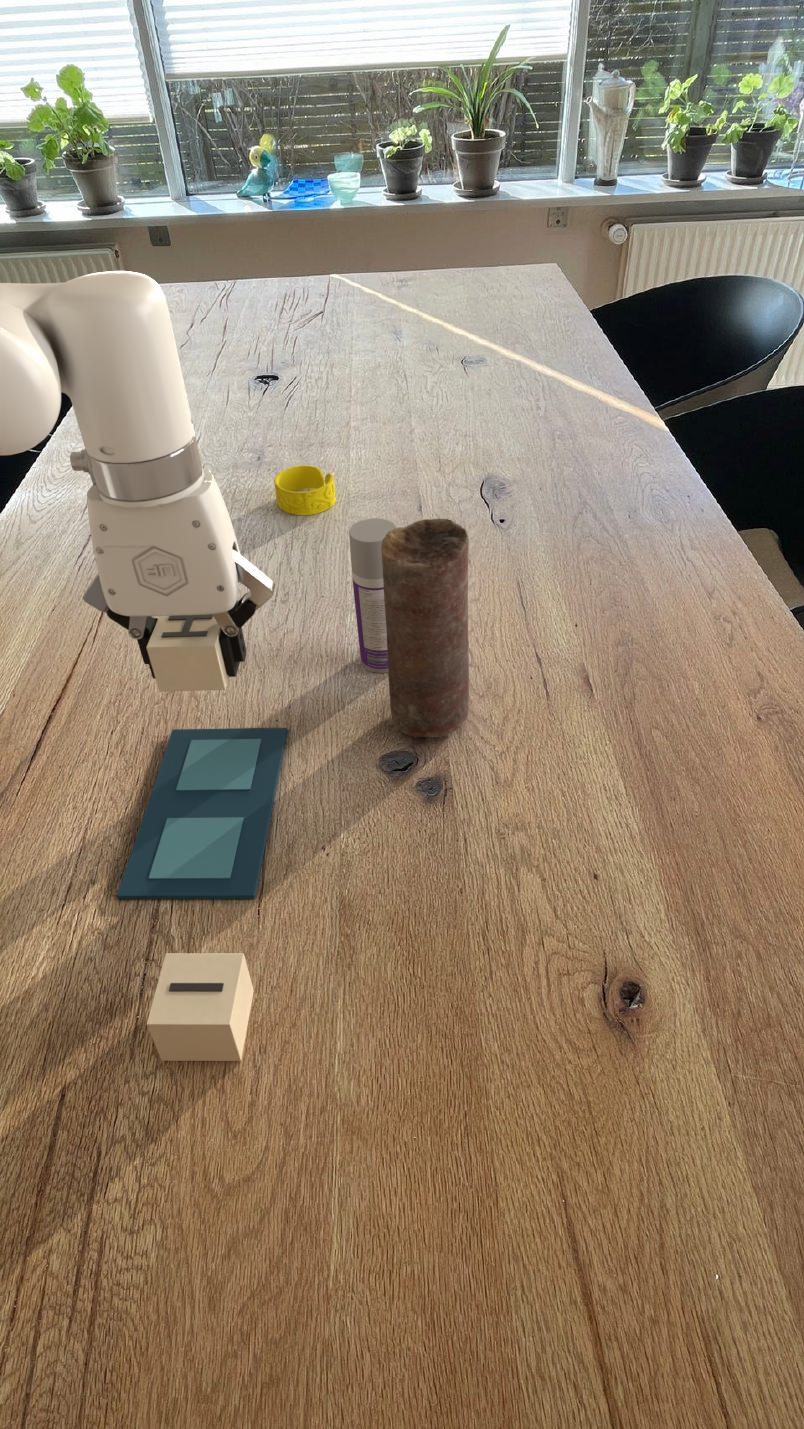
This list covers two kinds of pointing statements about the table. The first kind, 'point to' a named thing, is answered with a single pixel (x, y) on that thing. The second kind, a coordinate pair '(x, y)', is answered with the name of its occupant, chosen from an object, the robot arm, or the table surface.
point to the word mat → (207, 816)
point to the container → (370, 591)
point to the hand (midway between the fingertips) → (197, 665)
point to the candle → (427, 626)
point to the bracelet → (305, 500)
